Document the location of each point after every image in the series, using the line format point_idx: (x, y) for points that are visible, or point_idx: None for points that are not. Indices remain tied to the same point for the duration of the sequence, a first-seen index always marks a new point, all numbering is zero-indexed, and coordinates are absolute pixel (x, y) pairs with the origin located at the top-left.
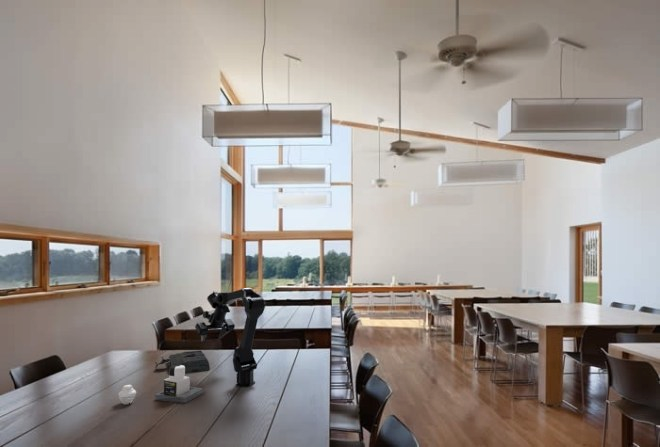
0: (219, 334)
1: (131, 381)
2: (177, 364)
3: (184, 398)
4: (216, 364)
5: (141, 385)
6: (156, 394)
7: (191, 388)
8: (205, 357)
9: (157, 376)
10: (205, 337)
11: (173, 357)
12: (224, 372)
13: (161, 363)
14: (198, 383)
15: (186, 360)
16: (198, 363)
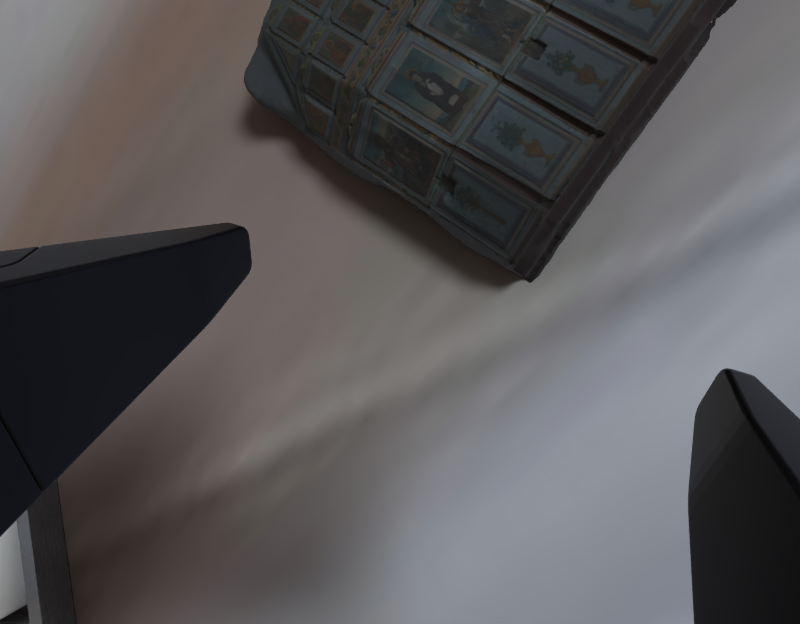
0: (762, 440)
1: (56, 18)
2: (286, 53)
3: None
4: (760, 167)
5: (34, 161)
6: None
7: (32, 602)
8: (637, 80)
9: (192, 52)
10: (82, 442)
11: None
12: (530, 488)
13: None
14: (201, 491)
15: (408, 12)
16: (441, 183)
